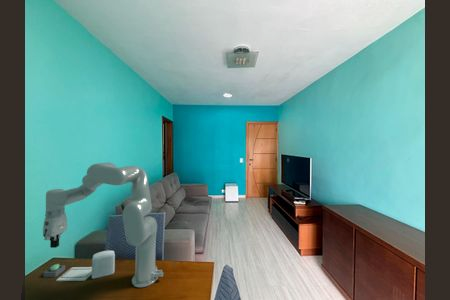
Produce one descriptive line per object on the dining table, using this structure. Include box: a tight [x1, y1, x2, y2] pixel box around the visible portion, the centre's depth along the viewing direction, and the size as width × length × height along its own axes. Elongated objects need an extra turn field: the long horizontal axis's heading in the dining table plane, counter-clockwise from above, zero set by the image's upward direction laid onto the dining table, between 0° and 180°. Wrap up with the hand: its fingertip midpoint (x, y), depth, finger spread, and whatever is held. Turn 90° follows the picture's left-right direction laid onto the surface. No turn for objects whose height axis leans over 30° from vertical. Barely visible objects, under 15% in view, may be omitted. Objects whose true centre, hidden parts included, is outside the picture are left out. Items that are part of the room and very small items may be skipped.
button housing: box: [43, 264, 66, 278], centre depth 98 cm, size 6×6×2 cm
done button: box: [49, 263, 60, 272], centre depth 98 cm, size 4×4×2 cm
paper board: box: [56, 266, 92, 282], centre depth 97 cm, size 14×10×1 cm
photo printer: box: [91, 250, 116, 280], centre depth 97 cm, size 10×4×12 cm, turn 116°
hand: (54, 246), depth 98 cm, fingers closed
